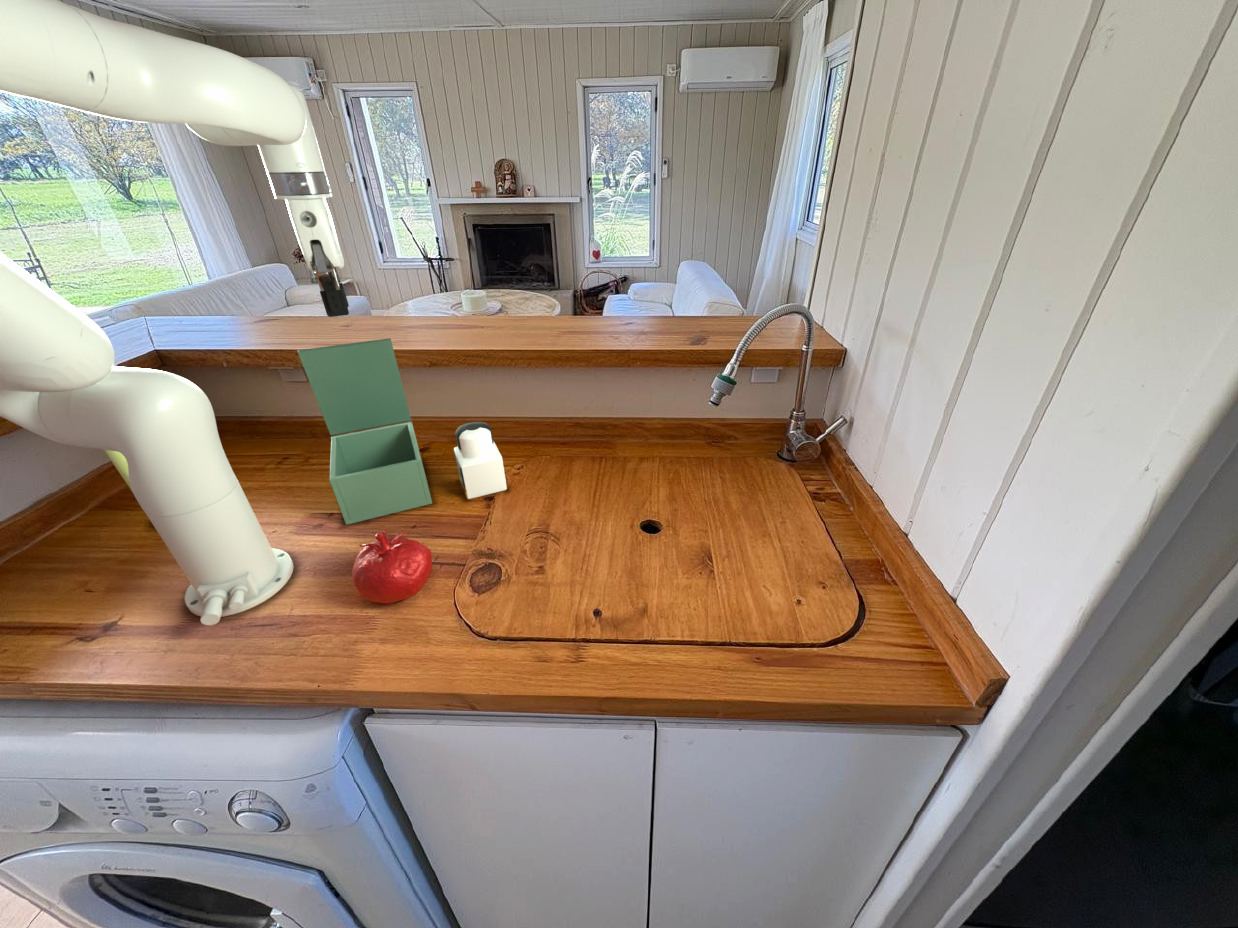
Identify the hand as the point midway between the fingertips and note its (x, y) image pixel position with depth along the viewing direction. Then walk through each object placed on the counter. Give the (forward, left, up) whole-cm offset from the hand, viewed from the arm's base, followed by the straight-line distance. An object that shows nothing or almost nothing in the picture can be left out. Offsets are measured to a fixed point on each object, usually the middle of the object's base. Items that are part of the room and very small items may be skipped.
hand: (338, 310), depth 83 cm
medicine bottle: (-18, -16, -30) cm, 38 cm away
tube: (-5, +33, -30) cm, 45 cm away
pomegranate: (-38, 0, -30) cm, 48 cm away
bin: (-12, 0, -29) cm, 32 cm away
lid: (-6, 0, -12) cm, 13 cm away
